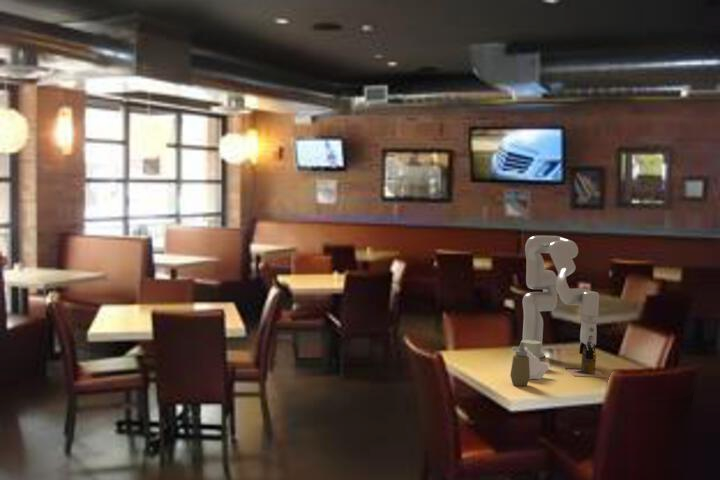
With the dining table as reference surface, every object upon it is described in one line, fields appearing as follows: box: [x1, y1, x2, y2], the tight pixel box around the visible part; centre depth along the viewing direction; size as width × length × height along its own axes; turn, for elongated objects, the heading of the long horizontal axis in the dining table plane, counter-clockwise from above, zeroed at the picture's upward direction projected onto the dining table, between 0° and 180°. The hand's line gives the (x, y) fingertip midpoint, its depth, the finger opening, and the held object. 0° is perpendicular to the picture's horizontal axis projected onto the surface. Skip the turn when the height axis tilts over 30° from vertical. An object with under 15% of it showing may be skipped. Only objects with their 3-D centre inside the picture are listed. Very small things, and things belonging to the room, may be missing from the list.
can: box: [520, 339, 541, 361], centre depth 362 cm, size 9×9×12 cm
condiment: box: [574, 346, 599, 375], centre depth 350 cm, size 7×8×12 cm
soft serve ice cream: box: [524, 347, 549, 381], centre depth 339 cm, size 12×15×14 cm
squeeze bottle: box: [509, 341, 531, 387], centre depth 325 cm, size 8×8×18 cm
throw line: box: [565, 366, 597, 370], centre depth 359 cm, size 14×2×1 cm, turn 90°
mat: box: [566, 369, 606, 378], centre depth 351 cm, size 14×12×1 cm
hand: (586, 356), depth 351 cm, fingers open, 9 cm apart
